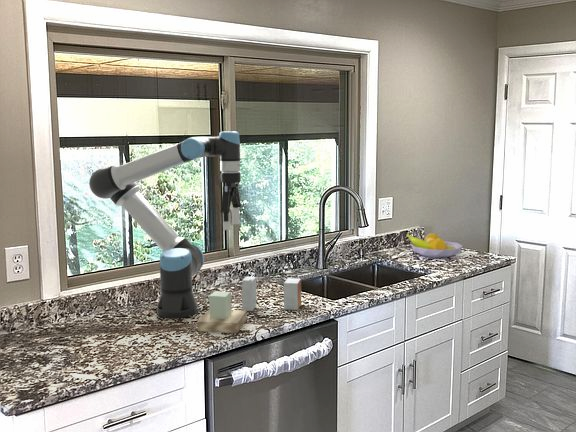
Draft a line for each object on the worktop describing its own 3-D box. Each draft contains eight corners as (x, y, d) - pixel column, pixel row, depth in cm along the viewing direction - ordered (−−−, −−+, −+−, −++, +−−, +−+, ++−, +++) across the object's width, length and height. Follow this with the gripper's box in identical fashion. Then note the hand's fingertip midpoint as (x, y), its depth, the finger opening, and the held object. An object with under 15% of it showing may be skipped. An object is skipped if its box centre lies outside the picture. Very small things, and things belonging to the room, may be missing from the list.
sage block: (209, 318, 212) (209, 295, 211) (215, 312, 218) (214, 291, 217) (226, 319, 211) (225, 296, 210) (231, 313, 217) (230, 292, 215)
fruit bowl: (467, 253, 330) (468, 232, 328) (452, 263, 307) (452, 241, 306) (417, 248, 345) (418, 228, 343) (399, 257, 322) (400, 236, 320)
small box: (297, 310, 231) (297, 283, 230) (283, 309, 232) (283, 282, 231) (301, 304, 239) (301, 278, 237) (287, 303, 240) (287, 277, 238)
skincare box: (245, 306, 237) (245, 276, 235) (257, 306, 236) (256, 276, 234) (241, 311, 231) (240, 279, 229) (252, 311, 230) (252, 280, 228)
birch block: (197, 332, 209) (197, 321, 208) (209, 319, 223) (209, 309, 222) (237, 334, 207) (237, 323, 206) (246, 321, 220) (246, 310, 220)
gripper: (231, 174, 220) (232, 232, 223) (247, 169, 244) (248, 221, 247) (211, 174, 221) (213, 232, 224) (229, 169, 246) (230, 221, 249)
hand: (231, 226), depth 236 cm, fingers open, 13 cm apart
